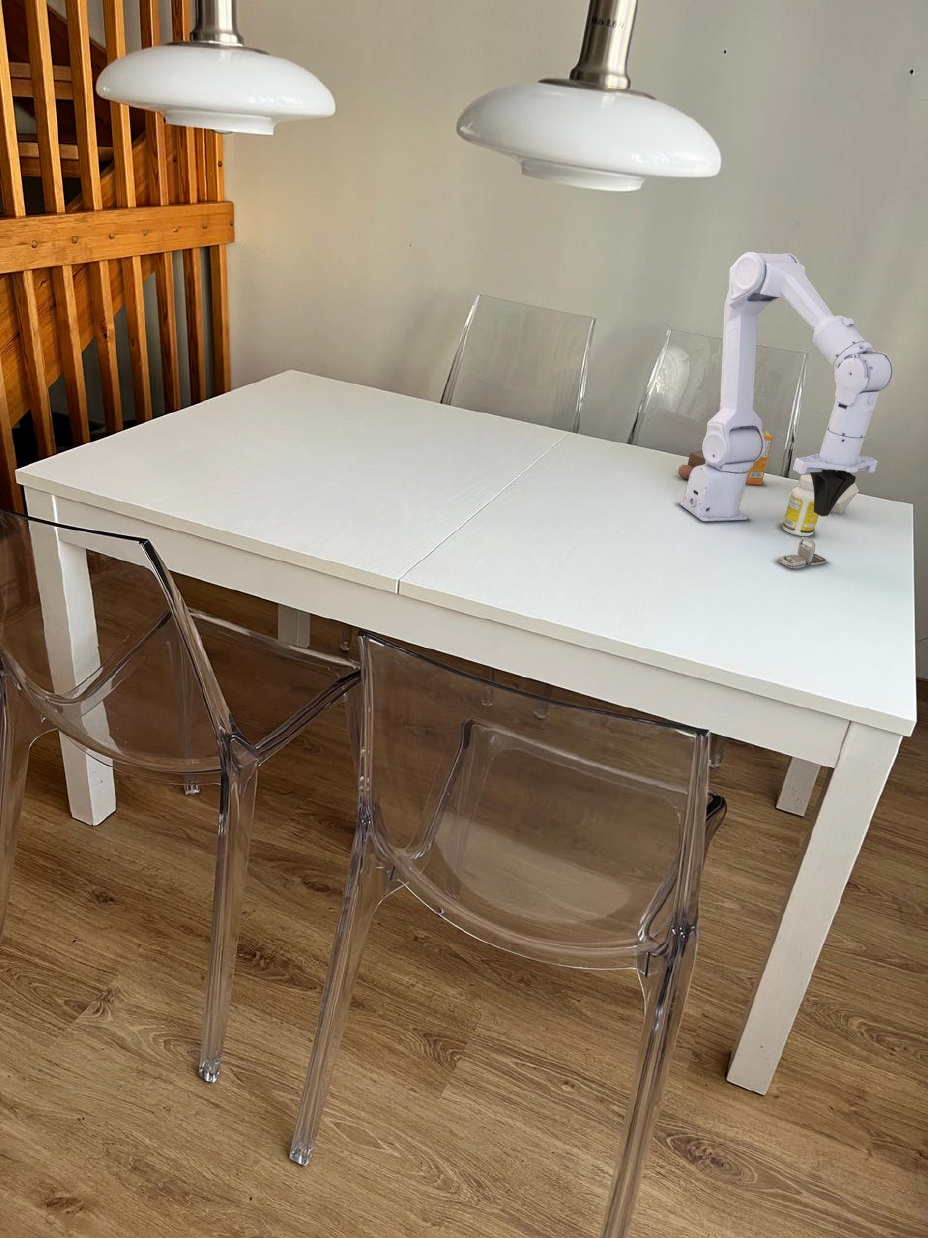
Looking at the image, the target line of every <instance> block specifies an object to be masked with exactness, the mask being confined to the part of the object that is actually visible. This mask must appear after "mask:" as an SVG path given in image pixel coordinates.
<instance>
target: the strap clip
mask: <svg viewBox="0 0 928 1238" xmlns="http://www.w3.org/2000/svg"><path fill="white" fill-rule="evenodd" d="M804 541H805V542H807V543H809V544H811V547H810V546H809V545H807V544H805V543H804ZM815 551H816V542H815V541H814V539H812V538H810V537H809V536H801V538H800V540H799V542H798V546H797V554H793V553H792V554H787V555H783V556H781V557H779V560H778V563H780V564H781V565H784V566H786V567H788V568H789V569H800V568H805V567H806V564H807V565H809V566H816V565H823V564H824V563H825V562H826V561H827V559H826V558H824V557H822V556H820V555H818V554H817V553H815Z"/></svg>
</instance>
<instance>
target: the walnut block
mask: <svg viewBox="0 0 928 1238" xmlns="http://www.w3.org/2000/svg"><path fill="white" fill-rule="evenodd" d="M705 461H706V460H705V458H704V455H703V450H702V449H701V450H697V451H692V452H689V456H688V460H687V465H690V466H692V467H693V468H695V467H696V466H701V465H704V464H706V463H705Z"/></svg>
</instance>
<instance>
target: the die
mask: <svg viewBox="0 0 928 1238" xmlns="http://www.w3.org/2000/svg"><path fill="white" fill-rule="evenodd" d="M859 492H860V490H859V489H858V486H857V484H856V481H855V482H854V484H852V485H851V486H850V487H849V488H848V489H847V490H846V491H845V492H844V493H843V494H842V495H841V497H840V498H839V499H838V501H837V502H836V504H835V505H834V507H833V508H832V510H831V512H830V513H834V514H835V513H836V514H842V512H843V511H844V510H845V509H846V507H847V506H848V505H849V504H850V503H851V501H852V500H853V499H854V498H855V497H856V496H857V494H858V493H859Z"/></svg>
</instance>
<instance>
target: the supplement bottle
mask: <svg viewBox="0 0 928 1238" xmlns="http://www.w3.org/2000/svg"><path fill="white" fill-rule="evenodd" d="M819 516H820V515H818V514H816V513H815V512H814V488H813V482H812V478H811V474H800V478H799V481H798V486H795V487H794V488H792V491H791V494H790V497H789V500H788V503H787V508H786V511H785V515H784V518H783V522H782V529H783V530H784V531H785V532H787V533H789V534H790V535H791V534H792V535H795V536H799V537H810V536H812V535H813V534H814V532H815V529H816V525H817V522H818V520H819Z"/></svg>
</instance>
